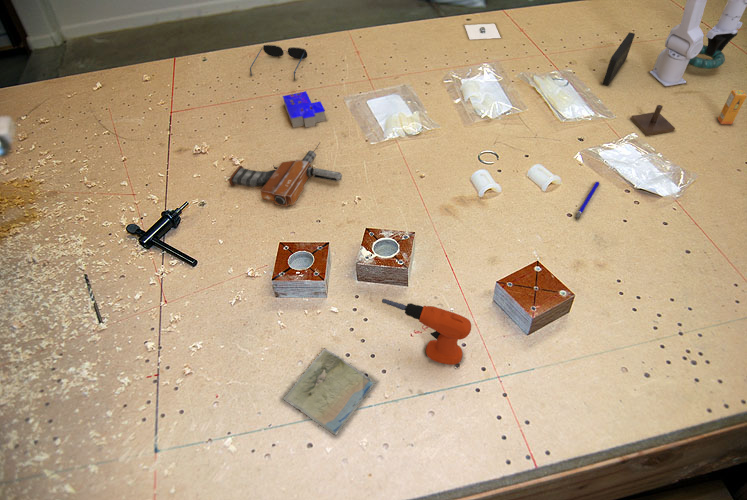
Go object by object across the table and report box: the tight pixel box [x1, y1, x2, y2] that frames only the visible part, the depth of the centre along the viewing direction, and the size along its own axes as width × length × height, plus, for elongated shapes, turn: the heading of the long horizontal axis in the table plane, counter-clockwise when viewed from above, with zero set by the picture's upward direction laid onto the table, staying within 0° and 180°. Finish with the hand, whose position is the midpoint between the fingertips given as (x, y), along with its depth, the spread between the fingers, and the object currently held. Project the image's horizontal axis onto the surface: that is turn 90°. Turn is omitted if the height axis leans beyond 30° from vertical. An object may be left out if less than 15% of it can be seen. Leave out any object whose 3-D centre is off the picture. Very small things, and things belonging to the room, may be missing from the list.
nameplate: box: [602, 31, 636, 86], centre depth 178 cm, size 21×2×10 cm, turn 146°
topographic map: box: [282, 347, 377, 436], centre depth 105 cm, size 14×14×2 cm
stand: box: [630, 104, 676, 137], centre depth 158 cm, size 9×9×7 cm
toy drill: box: [381, 298, 472, 366], centre depth 105 cm, size 5×19×15 cm, turn 71°
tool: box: [228, 142, 343, 207], centre depth 149 cm, size 4×27×30 cm
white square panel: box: [464, 23, 502, 41], centre depth 204 cm, size 12×12×2 cm
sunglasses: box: [249, 44, 308, 81], centre depth 189 cm, size 17×15×5 cm
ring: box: [688, 44, 726, 70], centre depth 179 cm, size 13×13×3 cm
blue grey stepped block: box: [282, 90, 326, 129], centre depth 168 cm, size 11×15×5 cm
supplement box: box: [717, 89, 747, 125], centre depth 157 cm, size 3×3×10 cm
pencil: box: [574, 180, 600, 220], centre depth 139 cm, size 17×1×1 cm, turn 146°
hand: (713, 53), depth 180 cm, fingers closed on ring, 3 cm apart
